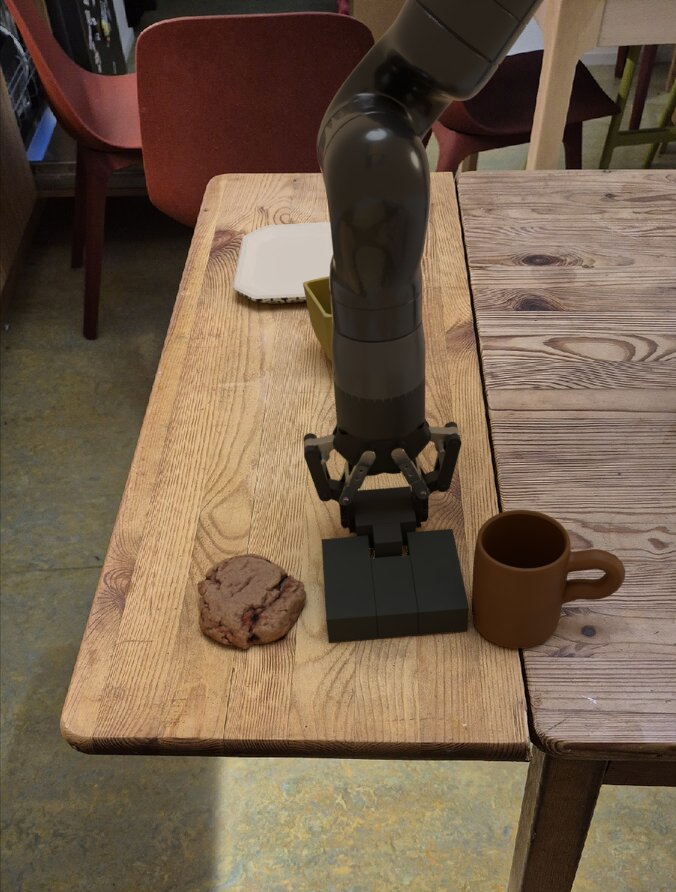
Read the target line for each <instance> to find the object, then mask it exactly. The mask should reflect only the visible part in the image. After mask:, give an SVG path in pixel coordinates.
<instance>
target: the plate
mask: <svg viewBox="0 0 676 892" xmlns="http://www.w3.org/2000/svg"><path fill="white" fill-rule="evenodd" d="M332 255H333V247H332V237H331V226H330V221H319V222H302V223H300V222H299V223H284V224H283V223H281V224H267V225H264V226H262V227H259V228H257V229H256V230H253V231H251V232H249V233H248V234H245V235H244V236H243V237H242V238H241V242H240V247H239V253H238V258H237V264H236V268H235V273H234V279H233V283H232V290H233V291H234V292H235V293H236V294H239V295H241V296H242V297H245V298H246V299H249V300H251V301H253V302H258V303H259V302H260V303H264V304H270V305H274V304H276V305H277V304H278V305H279V304H294V303H307V301H306V297H305V292H304V287H303V283H304V282H306V281H310V280H314V279H319V278H323V277H328V276H329V273H330V262H331V258H332Z"/></svg>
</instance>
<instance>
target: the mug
mask: <svg viewBox="0 0 676 892" xmlns="http://www.w3.org/2000/svg"><path fill="white" fill-rule="evenodd" d="M592 570H599V571H603V572H604V574H603V576H601V577H599V578H595V579H591V578H590V579H589V578H571V579H568V575H569V573H574V572H585V571H592ZM625 579H626V568H625V566H624V563H623V561H622V560H621V559H620V558H618V556H617V555H616V554H614V553H611V552H610V551H607V550H603V549H599V548H589V549H582V550H576V551H575V550H574V551H572V550H571V538H570V536H569V533H568V531H567V530H566V528H565V527H564V526H563V525H562V524H561V522H559V521H558V520H557V519H555V518H554V517H552V516H550V515H548V514H545V513H542V512H539V511H535V510H530V509H511V510H505V511H502V512H499V513H497V514H495V515H492V516H491V517H490V518H488V519H487V520H486V521H485V522H484V523H483V524H482V525H481V526H480V528H479V530H478V531H477V535H476V540H475V547H474V553H473V568H472V582H471V583H472V584H471V586H472V587H471V617H472V621H473V624H474V626H475V628H476V629H477V631H478V632H479V633H480V634H481V635H482V636H483V637H484V638H485V639H487V641H489V642H491V643H492V644H495V645H498V646H500V647H504V648H508V649H509V648H510V649H528V648H532V647H536V646H538V645H540V644H542V643H544V642H545V641H547V640H548V639H549V638H550V637H552V635H553V634H554V633H555V632H556V630H557V628H558V626H559V623H560V619H561V615H562V611H563V605H565V604H567V603H570V602H575V601H579V600H584V601H595V600H596V601H597V600H602V599H606V598H608V597H610V596H612V595H613V594H615V593H616V592H618V590H619V589H620V588H621V587H622V585H623V583H624V581H625Z"/></svg>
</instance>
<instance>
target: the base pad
mask: <svg viewBox="0 0 676 892" xmlns="http://www.w3.org/2000/svg"><path fill="white" fill-rule="evenodd" d="M406 541H407V546H406V554H405V555H403V556H392V557H380V558H374V557H371V550H370V549H369V540H368V535H367V536H356V535H355V536H346V537H334V538H332V537H331V538H322V539H321V553H322V570H323V571H322V572H323V588H324V589H323V590H324V591H323V592H324V608H325V622H326V631H327V640H328V643H329V644H333V643H343V642H355V641H356V642H357V641H366V640H367V641H369V640H378V639H391V638H403V637H404V638H405V637H415V636H428V635H441V634H449V633H450V634H452V633H453V634H454V633H463V632H468V630H469V613H470V612H469V610H470V606H469V602H468V597H467V593H466V587H465V583H464V576H463V573H462V567H461V563H460V562H461V561H460V557H459V553H458V552H459V551H458V547H457V543H456V538H455V532H454V529H453V528H444V529H431V530H418V531H416V532H407V533H406Z"/></svg>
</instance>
